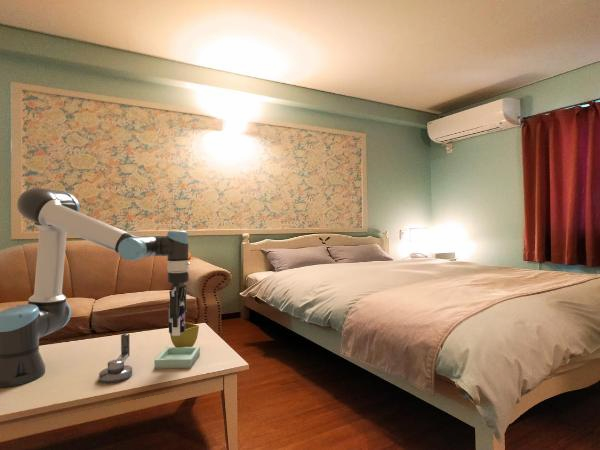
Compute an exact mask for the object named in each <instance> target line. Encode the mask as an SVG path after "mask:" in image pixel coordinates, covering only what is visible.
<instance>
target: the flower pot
mask: <svg viewBox="0 0 600 450" xmlns="http://www.w3.org/2000/svg"><path fill="white" fill-rule="evenodd" d="M199 328H200V325H199V324H195V323H190V322H186V321H185V331H184V332H183V333H182V334H180V336H172V335H171V334H170V333H169V335H170V340H171V342H172V345H173V347H194V345H195V343H196V342H197V339H198V335H199Z"/></svg>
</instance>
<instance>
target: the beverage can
mask: <svg viewBox="0 0 600 450" xmlns="http://www.w3.org/2000/svg"><path fill="white" fill-rule="evenodd" d="M169 317H170V303H169V305H168V334H169V335H170V334H171V335H172V318H169ZM179 318H180V334H182V333H183V332H184V331H185V322H186V313H185V305H184V303H183V301H180V309H179Z"/></svg>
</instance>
